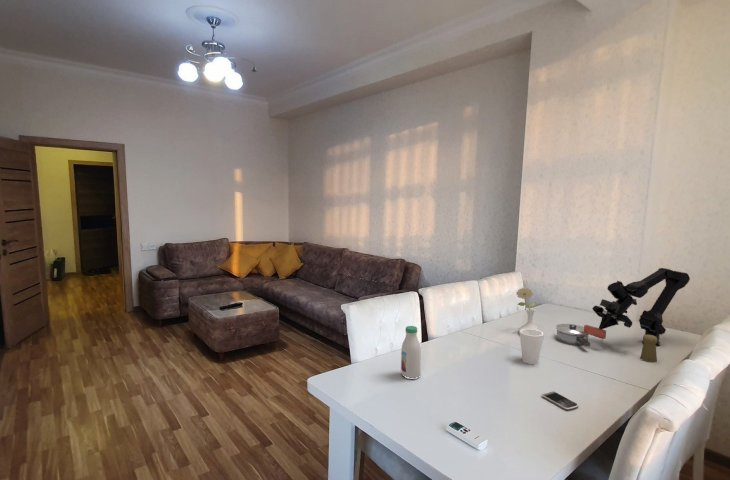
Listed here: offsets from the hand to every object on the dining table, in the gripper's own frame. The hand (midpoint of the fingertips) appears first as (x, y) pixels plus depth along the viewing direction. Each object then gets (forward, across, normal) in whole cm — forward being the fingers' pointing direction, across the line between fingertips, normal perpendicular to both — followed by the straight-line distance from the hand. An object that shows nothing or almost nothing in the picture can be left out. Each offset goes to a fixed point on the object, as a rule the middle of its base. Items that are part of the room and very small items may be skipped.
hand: (599, 328), depth 181 cm
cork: (-1, +16, +14) cm, 22 cm away
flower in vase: (+23, -22, -9) cm, 33 cm away
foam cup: (+36, +8, -22) cm, 43 cm away
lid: (+6, -7, 0) cm, 9 cm away
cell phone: (+44, +40, -30) cm, 67 cm away
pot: (+11, -8, +2) cm, 14 cm away
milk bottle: (+76, +12, -62) cm, 98 cm away
